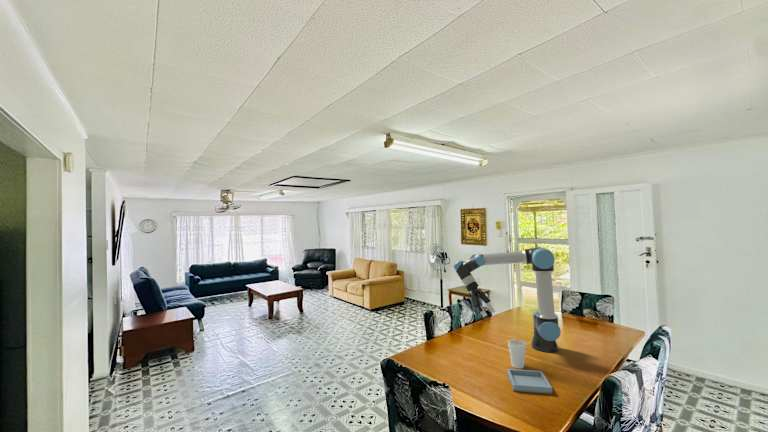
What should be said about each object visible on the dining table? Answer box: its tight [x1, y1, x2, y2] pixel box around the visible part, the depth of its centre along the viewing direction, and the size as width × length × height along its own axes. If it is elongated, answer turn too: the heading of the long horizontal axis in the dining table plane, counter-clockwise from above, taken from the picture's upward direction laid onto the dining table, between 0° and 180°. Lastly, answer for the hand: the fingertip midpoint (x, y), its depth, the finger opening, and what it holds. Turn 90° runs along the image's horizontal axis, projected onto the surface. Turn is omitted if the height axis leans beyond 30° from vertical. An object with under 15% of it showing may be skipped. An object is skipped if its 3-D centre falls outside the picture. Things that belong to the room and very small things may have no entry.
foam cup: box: [507, 338, 527, 369], centre depth 174 cm, size 10×9×13 cm
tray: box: [506, 368, 554, 395], centre depth 155 cm, size 17×17×3 cm
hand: (489, 314), depth 189 cm, fingers open, 13 cm apart
